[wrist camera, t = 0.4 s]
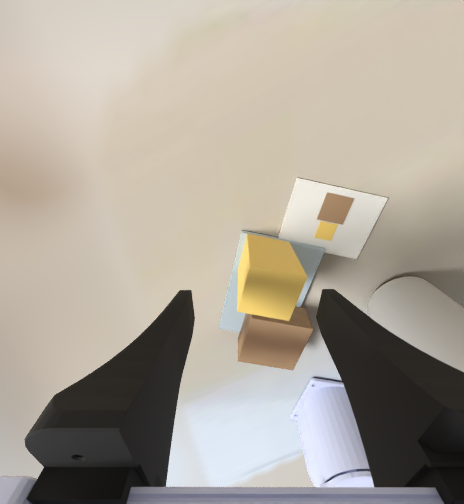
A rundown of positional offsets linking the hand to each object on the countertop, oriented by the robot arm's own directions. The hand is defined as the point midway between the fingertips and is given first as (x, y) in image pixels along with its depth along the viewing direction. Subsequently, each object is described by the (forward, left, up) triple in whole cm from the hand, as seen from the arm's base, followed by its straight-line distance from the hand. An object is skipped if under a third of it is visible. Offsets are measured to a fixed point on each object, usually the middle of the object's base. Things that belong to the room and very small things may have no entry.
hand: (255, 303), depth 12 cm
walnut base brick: (-9, -5, -9) cm, 14 cm away
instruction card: (+3, -7, -10) cm, 12 cm away
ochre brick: (-1, -2, -9) cm, 9 cm away
